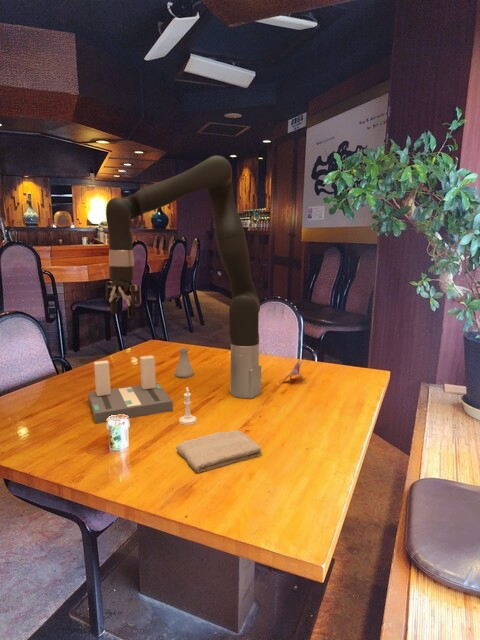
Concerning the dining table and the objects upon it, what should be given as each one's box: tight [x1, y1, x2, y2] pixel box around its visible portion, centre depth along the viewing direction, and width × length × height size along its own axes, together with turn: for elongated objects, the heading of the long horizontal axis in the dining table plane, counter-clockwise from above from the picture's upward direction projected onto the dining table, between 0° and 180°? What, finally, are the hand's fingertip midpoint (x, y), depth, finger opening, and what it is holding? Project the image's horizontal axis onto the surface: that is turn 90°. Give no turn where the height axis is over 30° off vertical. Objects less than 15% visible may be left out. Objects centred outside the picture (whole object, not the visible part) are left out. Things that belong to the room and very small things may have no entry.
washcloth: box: [175, 429, 262, 474], centre depth 103 cm, size 12×18×3 cm, turn 120°
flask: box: [173, 348, 195, 379], centre depth 160 cm, size 7×7×10 cm
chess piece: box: [178, 386, 197, 426], centre depth 120 cm, size 5×5×10 cm
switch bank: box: [87, 382, 174, 424], centre depth 132 cm, size 18×22×3 cm
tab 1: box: [93, 360, 111, 396], centre depth 132 cm, size 3×4×10 cm
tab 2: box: [139, 355, 157, 390], centre depth 138 cm, size 3×4×10 cm
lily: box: [282, 358, 306, 384], centre depth 154 cm, size 11×11×9 cm
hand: (122, 315), depth 138 cm, fingers open, 8 cm apart
